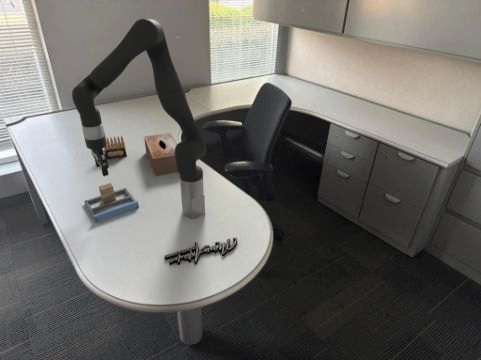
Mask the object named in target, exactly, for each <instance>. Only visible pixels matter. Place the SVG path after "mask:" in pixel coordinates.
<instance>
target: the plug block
mask: <svg viewBox="0 0 481 360" xmlns="http://www.w3.org/2000/svg"><path fill="white" fill-rule="evenodd" d="M98 190H99V193H100V196H101V198H102V200H101V202H102V205H104V204H107V203H110V202H113V201H116V200H117V199H116V195H115V194H114V191H115V188H114V185H113V184H112V183H111V182H110V183H106V184H103V185H99V186H98Z"/></svg>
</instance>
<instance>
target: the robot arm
mask: <svg viewBox="0 0 481 360" xmlns="http://www.w3.org/2000/svg"><path fill="white" fill-rule="evenodd" d="M169 50H170V49H169V45H168V42H167V39H166V34H165V31H164V28H163V27H162V25H161V24H160V23H159V22H158V21H157V20H155V19H152V18H139V19H138V20H136V21H135V22H134V23H133V24H132V26H131V27H130V28H129V30H128V32H127V33H126V34H125V36H124V37H123V38H122V40H121V41H120V42H119V43H118V45H117V46H116V47H115V48H114V49H113V50H112V51H111V52H110V53H109V54H108V55H107V56H106V57H105V58H104V59H103V60H102V61H101V62H100V63H98V64H97V65H96V66H95V67H94V69H92V71H90V73H89V74H88V75H87V76H86V77H85V78H83V79H82V80H81V81H80V82H79V83H78V84H77V85H75V87H74V88H73V89H72V92H71V97H72V101H73V104H74V106H75V108H76V110H77V113H78V114H79V119H80V123H81V127H82V128H81V129H82V134H83V138H84V142H85V145H86V148H87V149H89V150H90V152H91V155H92V157H93V159H94V162H95V166H96V168H100V170H101V174H102V176H103V177H107V176H109V170H108V169H109V168H110V166H109V162H108V159H107V155H106V154H105V151H104V147H105V146H106V145H107V137H106V133H105V128H104V125H103V122H102V116H101V112H100V110H99V108H98V107H96V106H95V99H96V97H98V96H99V94H101V92H103V90H104V89H106V88H108V87H109V86H111V84H113V83H114V82H115V81H116V80H117V79H118V78H119V77H120V76H121V74H122V73H124V71H125V70H126V68H127V67H128V65H129V64H130V63H131V62H133V60H135V58H137V56H139V55H141V54H142V53H144V52H146V53H147V57H148V59H149V61H150V64H151V66H152V71H153V72H152V75H153V81H154V87H155V91H156V95H157V97H158V100H159V103H160V104H161V107H162V109H163V110H164V112H165V113H166V114H167V115H168V116H169V117H170V118H171V119H173V120H174V121H175V123H177V125H178V126H179V128H180V130H181V132H182V134H183V135H182V136H183V138H184V139H183V140H181V141H180V142H178V143H177V145H176V147H175V159H176V166H177V171H178V172H177V173H178V175H179V184H180V186H179V187H180V199H181V209H182V213H183V215H185V216H186V217H189V218H191V219H196V218H197V217H200V216H203V215H205V214H206V201H205V199H206V198H205V192H204V191H205V190H204V189H205V187H204V170H203V168H202V167H201V166H200V165H197V161H199V160H200V159H201V158H203V157H204V156H205V154H206V152H207V148H206V143H205V140H204V138H203V135H202V134H201V132H200V130H199V128H198V125H197V123H196V121H195V119H194V116H193V113H192V110H191V108H190V105H189V103H188V99H187V96H186V94H185V91H184V87H183V85H182V82H181V80H180V78H179V75H178V72H177V70H176V68H175V66H174V62H173V60H172V58H171V54H170V51H169Z"/></svg>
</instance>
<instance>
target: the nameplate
mask: <svg viewBox="0 0 481 360" xmlns="http://www.w3.org/2000/svg"><path fill="white" fill-rule="evenodd" d="M232 242H233V243H232V245H231V239H230V238H227V240H226V242H222V243H221V241H215V242H214V245H212V246H210V245H208V244H205V245H204V246H202V247H201V248H200V247H199V243H198V242H197V241H194V245H195V246H193V247H189V248H186V249H185V248H184V249H182V250H179V251H175V252H172V253H169V254H165V255H164V260H165V261H168V260H169V261H168V264H169V265H168V266H172V265H174V264H176V265H178V266H181V262H183V261H184V262H188V263H192V260H193V263H194V264H193V265H195V264H196V265H198V261H199V260H200V257H201V256H203V255H208V254H209V255H210V254H211V253H214V254H217V253H221V254H220V255H222V256H224V257H225V256H226V255H227V254H228V253H231V252H233V251H234V249H235V248H236V246H237V244H238V238H237V237H233V239H232ZM199 248H200V249H199ZM226 253H227V254H226ZM222 256H221V257H222Z"/></svg>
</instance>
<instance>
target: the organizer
mask: <svg viewBox="0 0 481 360" xmlns="http://www.w3.org/2000/svg"><path fill="white" fill-rule="evenodd" d="M124 193H125V195H126V196H125V197H121V198H120V199H116V201H113V202H110V203H107V204H102V205H98V206H95V207H91V204H93V203H97V202H100V201H102V198H101V195H99V196H95V197H93V198H89V199H87V200H84V205H85V206H86V208H87V210H88V212H89V214H90V216H91V217H92V219H93V220H94V222H95V223H98V222H101V221H104V220H108V219H110V218H113V217H115V216H118V215H121V214H124V213H127V212H130V211H133V210H135V209H139V207H140V204H139V201H138V200H136V199H135V198H134V197H133V195H132V194H131V193H130V191H129V190H128V189H127V187H124V188H121V189H117V190H114V194H115V196H118V195H121V194H124ZM129 201H131V202H129ZM126 202H128V203H126ZM123 203H125V204H123ZM119 204H123V205H119ZM117 205H119V206H117ZM114 206H117V207H114ZM111 207H114V208H111ZM107 208H108V210H105V209H107ZM109 208H111V209H109ZM103 210H105V211H103ZM99 211H102V212H100V213H97V214H95V213H96V212H99Z"/></svg>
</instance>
